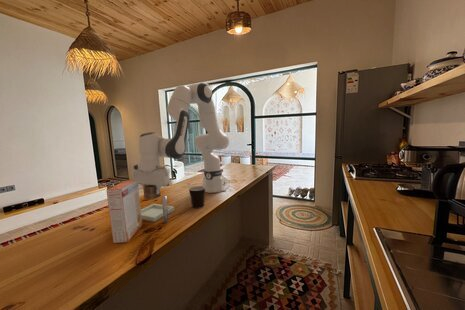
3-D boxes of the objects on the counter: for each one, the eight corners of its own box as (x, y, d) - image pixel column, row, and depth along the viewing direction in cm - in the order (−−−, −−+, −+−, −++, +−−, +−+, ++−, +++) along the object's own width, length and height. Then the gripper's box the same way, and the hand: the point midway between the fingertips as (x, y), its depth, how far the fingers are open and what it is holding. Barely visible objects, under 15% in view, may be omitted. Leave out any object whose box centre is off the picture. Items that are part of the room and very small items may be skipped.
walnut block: (152, 195, 102) (151, 183, 102) (160, 196, 100) (159, 184, 100) (144, 198, 97) (143, 186, 97) (152, 199, 95) (151, 187, 95)
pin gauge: (165, 220, 92) (163, 195, 91) (169, 221, 91) (167, 195, 90) (162, 222, 90) (160, 196, 89) (166, 223, 90) (164, 197, 88)
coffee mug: (202, 209, 104) (201, 190, 103) (187, 208, 106) (186, 190, 105) (209, 201, 115) (208, 184, 114) (195, 201, 117) (194, 184, 116)
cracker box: (129, 226, 88) (124, 180, 85) (142, 225, 88) (138, 179, 85) (111, 244, 74) (105, 189, 71) (128, 243, 74) (122, 188, 72)
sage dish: (154, 207, 109) (153, 203, 109) (174, 210, 104) (174, 206, 103) (132, 217, 96) (131, 213, 96) (154, 222, 91) (154, 217, 91)
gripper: (171, 165, 96) (173, 193, 97) (140, 164, 104) (142, 189, 105) (162, 167, 90) (164, 197, 92) (129, 166, 98) (132, 193, 100)
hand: (152, 193), depth 99 cm, fingers closed on walnut block, 5 cm apart
